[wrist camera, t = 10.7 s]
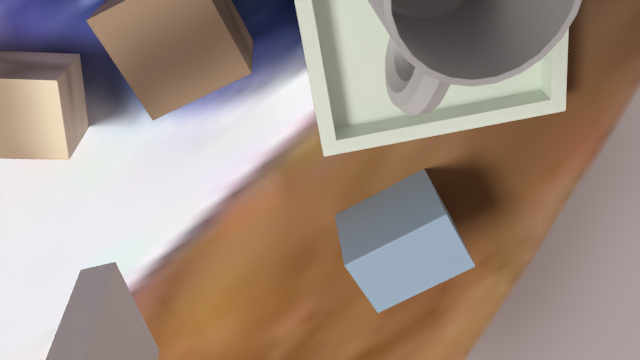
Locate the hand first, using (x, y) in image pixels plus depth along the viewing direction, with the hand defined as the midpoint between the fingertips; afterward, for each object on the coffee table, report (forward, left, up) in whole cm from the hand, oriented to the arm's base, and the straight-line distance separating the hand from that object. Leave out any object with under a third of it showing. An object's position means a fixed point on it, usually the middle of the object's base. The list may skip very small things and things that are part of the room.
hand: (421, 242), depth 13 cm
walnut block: (-1, -7, -20) cm, 21 cm away
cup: (-1, +4, -19) cm, 20 cm away
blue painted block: (+13, +2, -20) cm, 24 cm away
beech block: (+1, -16, -20) cm, 26 cm away
